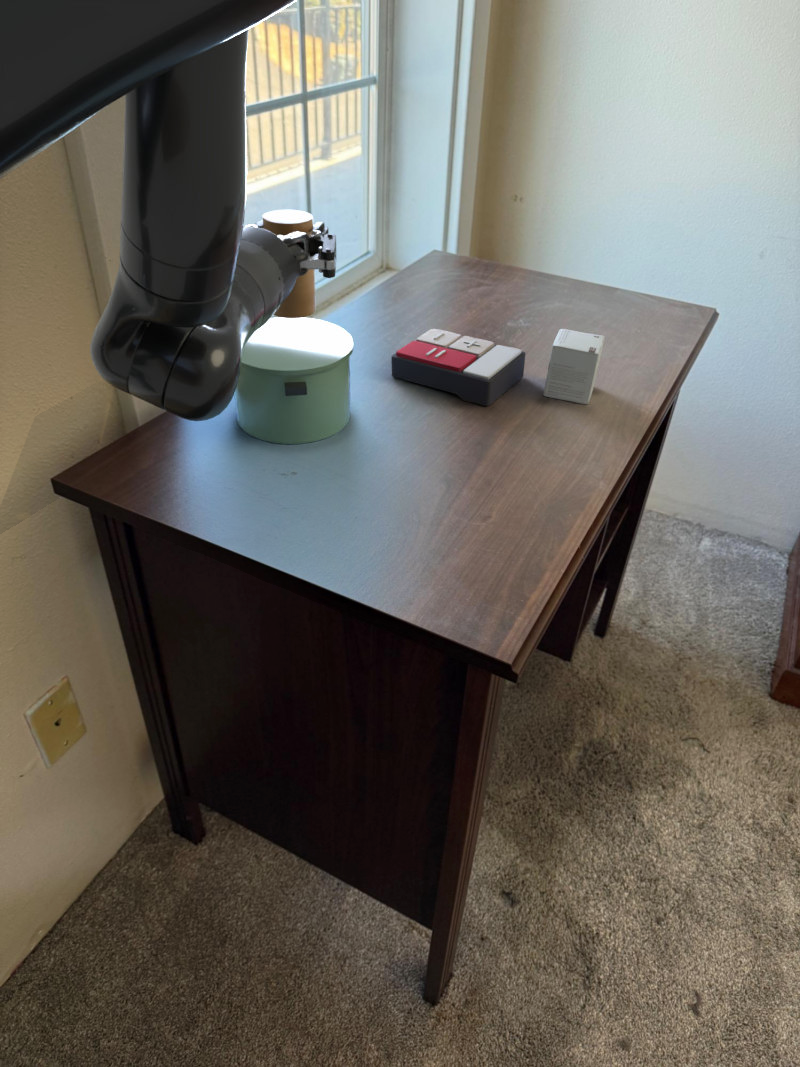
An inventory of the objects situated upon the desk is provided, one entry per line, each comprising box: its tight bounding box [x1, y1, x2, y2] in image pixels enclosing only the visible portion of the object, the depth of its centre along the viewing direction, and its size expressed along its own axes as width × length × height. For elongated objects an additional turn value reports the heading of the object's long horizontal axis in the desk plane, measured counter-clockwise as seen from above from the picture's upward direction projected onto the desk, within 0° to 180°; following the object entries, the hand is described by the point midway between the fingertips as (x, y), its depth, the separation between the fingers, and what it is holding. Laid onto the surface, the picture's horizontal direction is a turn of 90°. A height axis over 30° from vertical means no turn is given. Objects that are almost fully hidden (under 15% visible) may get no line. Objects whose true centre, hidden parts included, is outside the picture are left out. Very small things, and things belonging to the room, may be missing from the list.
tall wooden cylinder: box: [261, 209, 317, 318], centre depth 81 cm, size 5×5×10 cm
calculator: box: [390, 327, 526, 407], centre depth 101 cm, size 11×4×15 cm
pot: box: [233, 317, 355, 445], centre depth 90 cm, size 15×17×10 cm
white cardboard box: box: [543, 328, 605, 405], centre depth 98 cm, size 6×6×7 cm
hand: (295, 229), depth 81 cm, fingers closed on tall wooden cylinder, 5 cm apart
